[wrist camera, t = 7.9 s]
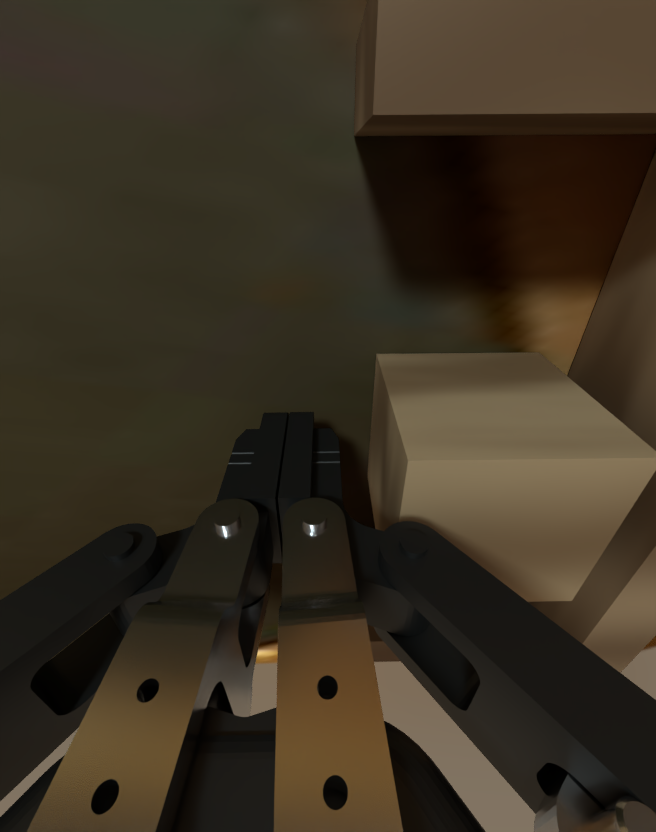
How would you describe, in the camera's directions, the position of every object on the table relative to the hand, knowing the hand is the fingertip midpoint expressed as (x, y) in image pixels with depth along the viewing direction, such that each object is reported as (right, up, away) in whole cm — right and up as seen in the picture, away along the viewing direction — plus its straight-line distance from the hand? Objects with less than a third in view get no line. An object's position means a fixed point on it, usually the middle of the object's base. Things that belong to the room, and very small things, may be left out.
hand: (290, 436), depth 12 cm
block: (+5, 0, +1) cm, 5 cm away
